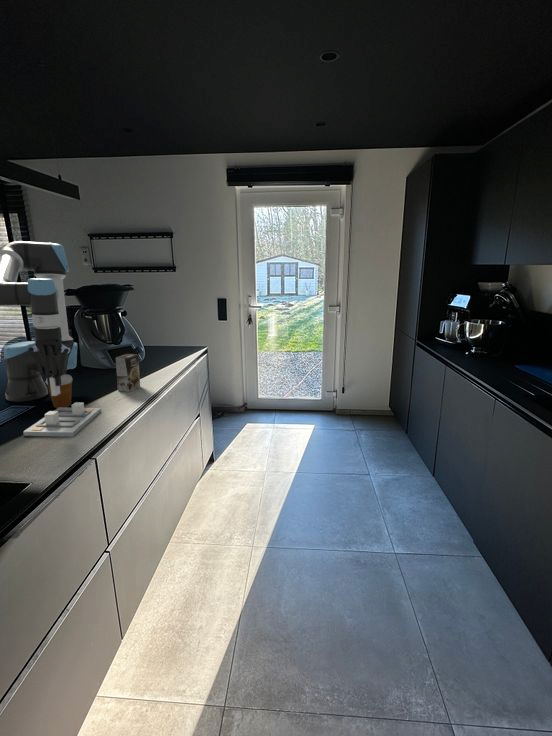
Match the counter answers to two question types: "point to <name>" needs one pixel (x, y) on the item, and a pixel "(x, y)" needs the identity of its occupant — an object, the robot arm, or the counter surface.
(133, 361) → the coffee box
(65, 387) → the disposable coffee cup
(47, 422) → the tab
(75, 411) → the tab
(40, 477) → the counter surface
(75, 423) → the switch plate
